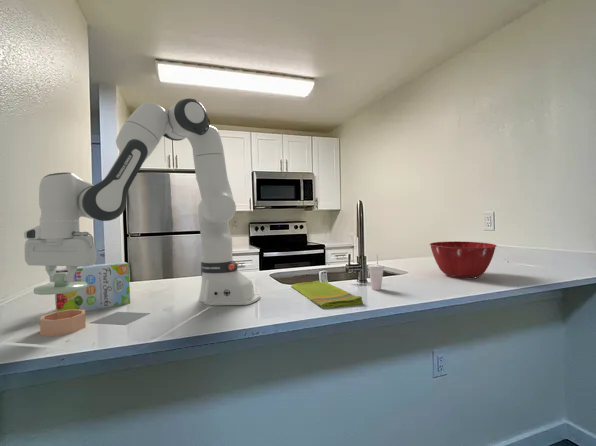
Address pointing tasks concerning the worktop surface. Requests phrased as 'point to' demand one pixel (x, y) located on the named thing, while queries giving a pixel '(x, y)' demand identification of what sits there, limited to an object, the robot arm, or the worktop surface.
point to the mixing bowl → (463, 258)
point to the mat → (120, 318)
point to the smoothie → (376, 275)
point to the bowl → (62, 322)
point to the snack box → (97, 287)
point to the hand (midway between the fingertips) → (61, 282)
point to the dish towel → (327, 294)
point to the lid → (60, 286)
